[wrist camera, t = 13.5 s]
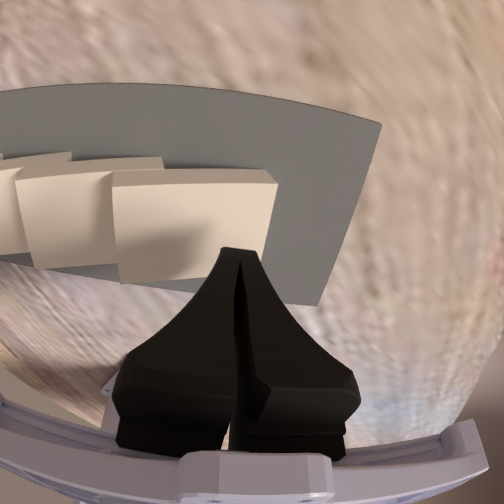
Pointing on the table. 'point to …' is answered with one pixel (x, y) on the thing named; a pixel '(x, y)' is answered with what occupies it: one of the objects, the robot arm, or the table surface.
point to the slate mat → (212, 160)
